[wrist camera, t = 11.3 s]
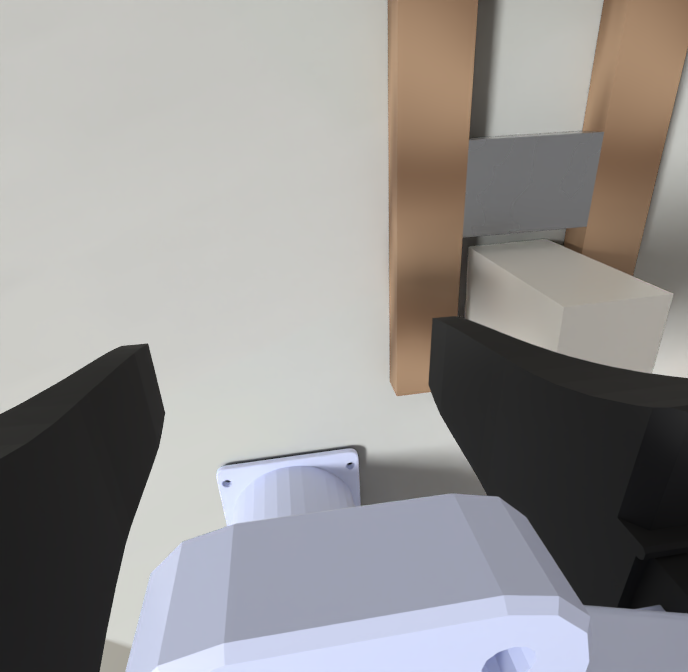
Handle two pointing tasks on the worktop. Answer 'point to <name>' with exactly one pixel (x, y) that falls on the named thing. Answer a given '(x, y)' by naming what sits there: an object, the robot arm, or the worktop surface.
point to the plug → (566, 303)
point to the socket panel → (515, 158)
